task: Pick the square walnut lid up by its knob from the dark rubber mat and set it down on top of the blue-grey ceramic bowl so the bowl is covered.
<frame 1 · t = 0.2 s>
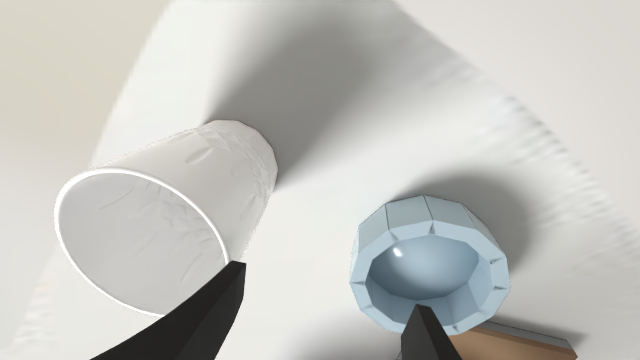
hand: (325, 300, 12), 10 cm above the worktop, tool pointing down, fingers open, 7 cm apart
bowl: (418, 254, 23), on the worktop
white cup: (234, 163, 22), on the worktop
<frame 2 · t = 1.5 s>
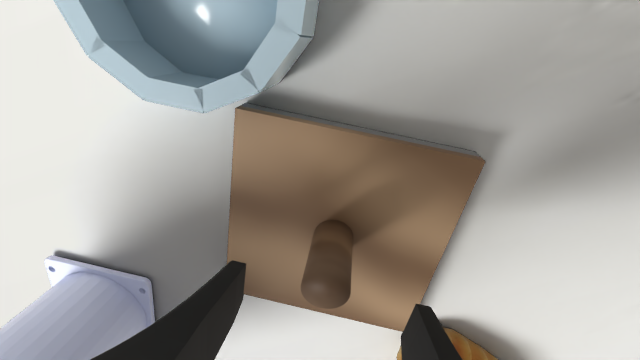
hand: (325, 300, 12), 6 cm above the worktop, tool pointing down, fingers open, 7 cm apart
mat: (335, 222, 18), on the worktop
lid: (334, 230, 17), point 1 cm above the worktop, touching mat
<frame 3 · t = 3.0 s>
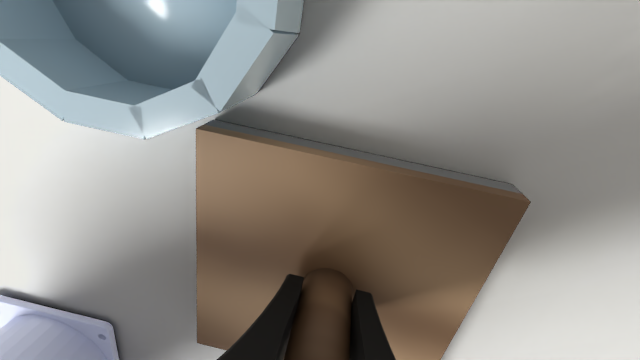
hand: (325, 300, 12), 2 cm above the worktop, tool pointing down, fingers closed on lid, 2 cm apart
mat: (330, 266, 14), on the worktop
lid: (328, 278, 14), point 1 cm above the worktop, touching gripper, mat
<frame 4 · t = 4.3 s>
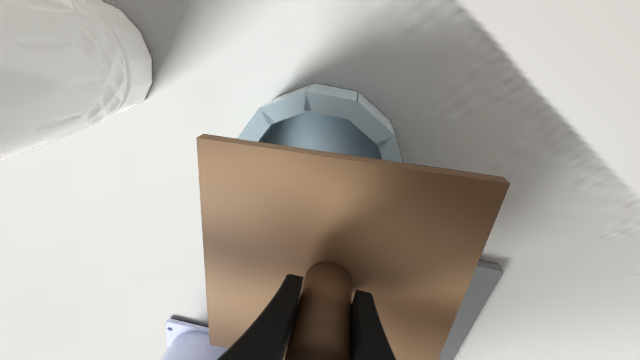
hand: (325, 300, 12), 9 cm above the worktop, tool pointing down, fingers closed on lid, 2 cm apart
bowl: (322, 162, 20), on the worktop
mat: (394, 303, 25), on the worktop
white cup: (106, 58, 19), on the worktop
lid: (329, 272, 14), point 8 cm above the worktop, touching gripper
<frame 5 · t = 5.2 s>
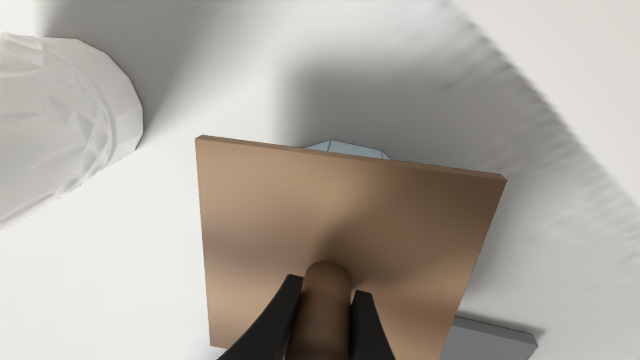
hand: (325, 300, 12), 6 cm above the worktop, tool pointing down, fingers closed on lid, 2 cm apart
bowl: (336, 223, 18), on the worktop
white cup: (91, 104, 17), on the worktop
lid: (329, 271, 14), point 4 cm above the worktop, touching gripper
when the fingers open (6 cm above the worktop, at t = 5.8 s): lid stays where it is, resting on bowl.
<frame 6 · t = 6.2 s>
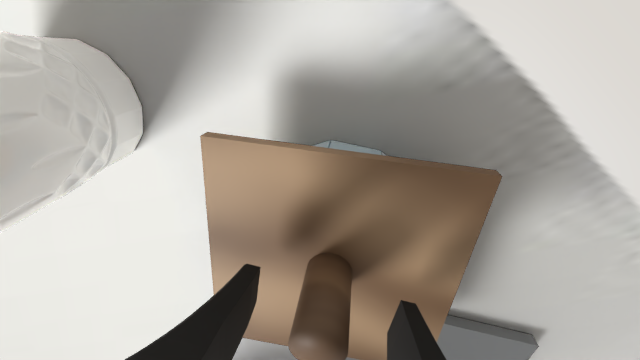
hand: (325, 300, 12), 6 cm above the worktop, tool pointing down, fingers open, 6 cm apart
bowl: (336, 223, 18), on the worktop
white cup: (91, 104, 17), on the worktop
lid: (330, 262, 15), point 3 cm above the worktop, touching bowl
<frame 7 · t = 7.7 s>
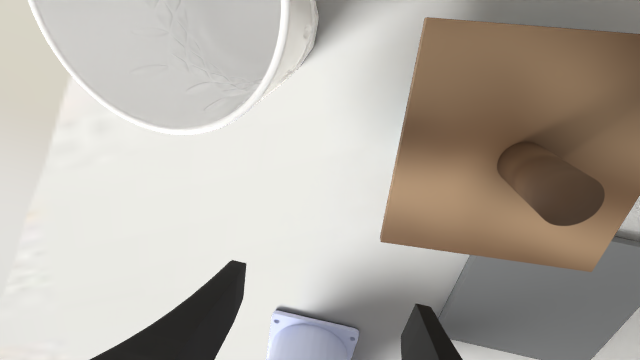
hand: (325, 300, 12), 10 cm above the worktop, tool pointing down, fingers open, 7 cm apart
mat: (538, 293, 23), on the worktop
white cup: (262, 19, 17), on the worktop
lid: (515, 158, 15), point 3 cm above the worktop, touching bowl
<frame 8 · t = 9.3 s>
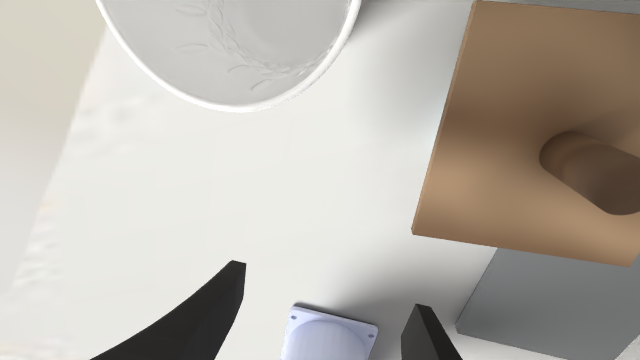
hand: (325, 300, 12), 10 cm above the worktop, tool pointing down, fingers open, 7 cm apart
mat: (564, 290, 22), on the worktop
white cup: (295, 4, 17), on the worktop
lid: (557, 149, 15), point 3 cm above the worktop, touching bowl
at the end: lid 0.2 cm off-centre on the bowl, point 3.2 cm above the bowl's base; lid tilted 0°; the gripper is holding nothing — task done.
